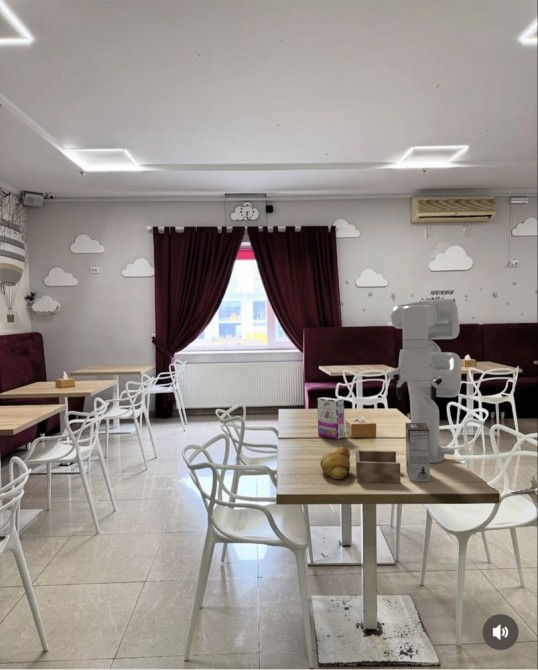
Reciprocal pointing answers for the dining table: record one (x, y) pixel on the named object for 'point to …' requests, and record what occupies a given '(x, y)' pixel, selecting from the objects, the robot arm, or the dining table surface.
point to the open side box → (377, 466)
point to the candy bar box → (331, 418)
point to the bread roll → (336, 463)
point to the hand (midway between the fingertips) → (416, 399)
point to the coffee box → (417, 452)
